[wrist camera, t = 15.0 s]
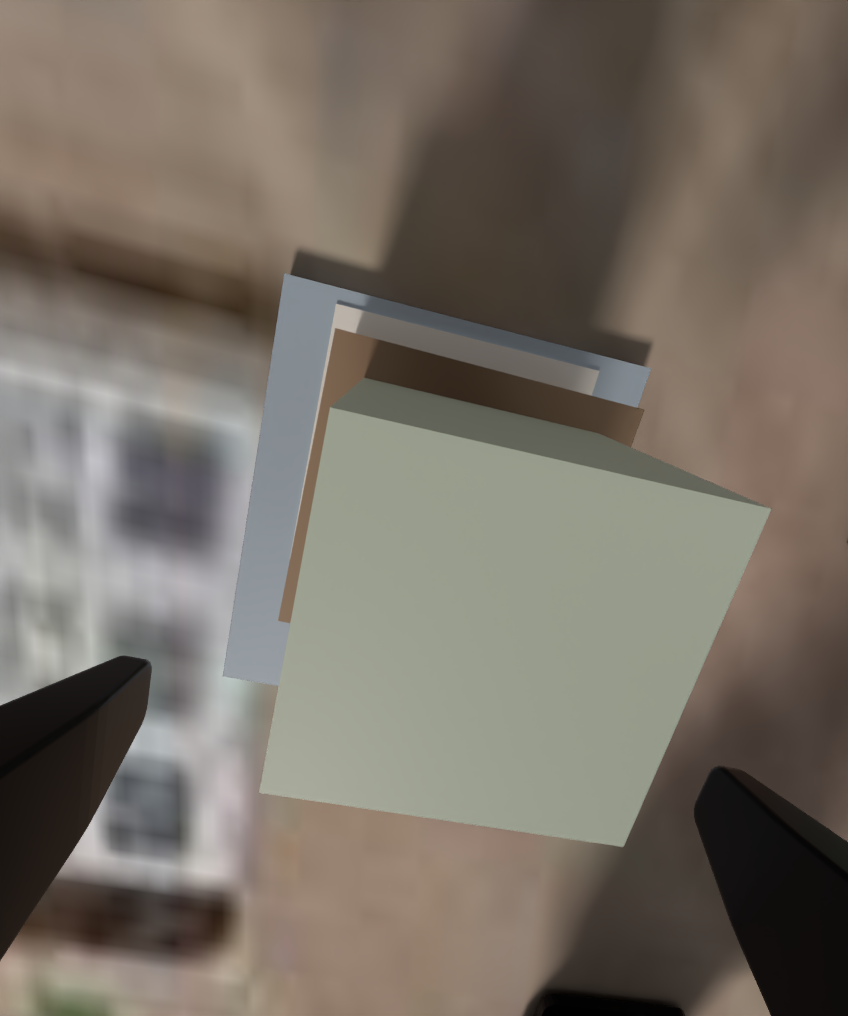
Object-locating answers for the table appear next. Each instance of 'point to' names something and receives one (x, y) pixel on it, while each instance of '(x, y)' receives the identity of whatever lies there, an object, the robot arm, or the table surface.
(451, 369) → the walnut block
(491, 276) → the table surface
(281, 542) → the board
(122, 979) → the table surface
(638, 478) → the sage block
